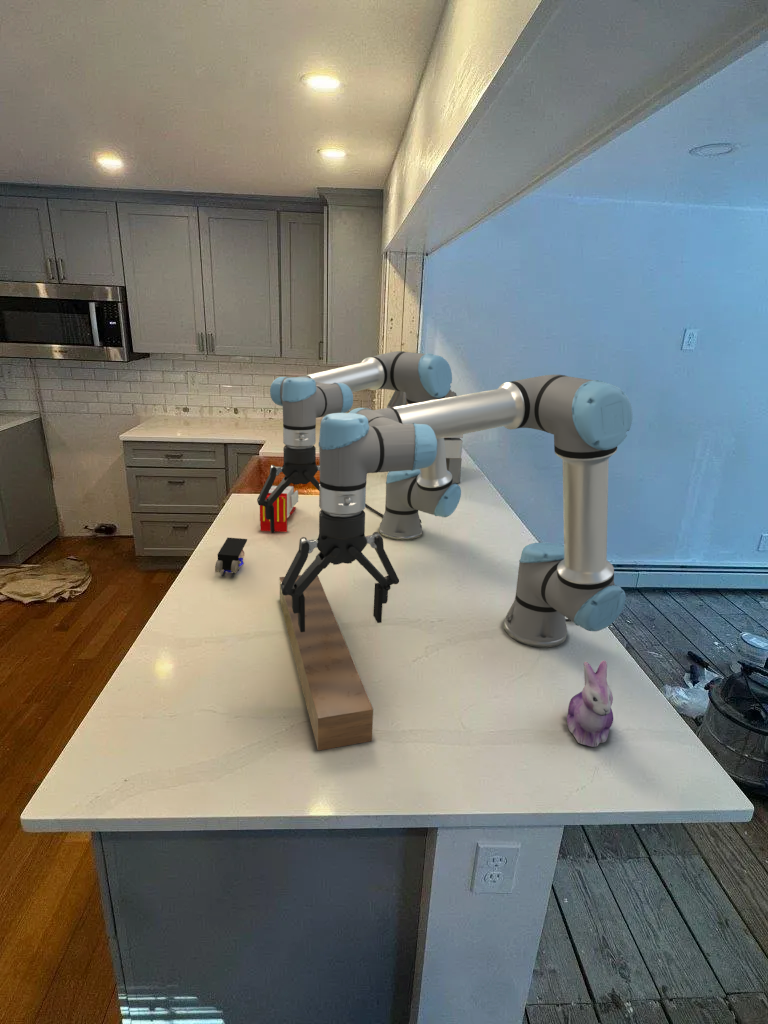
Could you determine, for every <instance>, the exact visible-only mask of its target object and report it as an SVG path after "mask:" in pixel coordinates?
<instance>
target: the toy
mask: <svg viewBox="0 0 768 1024" xmlns="http://www.w3.org/2000/svg"><path fill="white" fill-rule="evenodd" d="M277 486H278V485H272V487H271V489H270V491H269V493H268V495H267V497H266V499H267V498H268V497H269V496H270V494H271V493H272V492H273V491H274V490H275V489H276V487H277ZM294 486H295V485H294ZM294 486H293V485H289V486H288V487H287V488H286V489H285V490H284V491H283V492H282V493H281V495H280V496H279V497H278V498H277V499H276V501H275V502H274V503H273V506H274V528H275V532H279V533H281V532H283V533H287V532H288V518H289V517H290V516H291V515H293V514H294V512H295V510H296V508H297V507H296V506H295V505H296V504H298V503H299V490H298V489H297V490H295V491H294ZM266 499H265V500H266ZM259 526H260V528H259V529H260V531H259V532H271V530H270V519H269V520H267V519H266V516H265V506H262V505H261V506H260V505H259Z"/></svg>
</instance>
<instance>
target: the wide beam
mask: <svg viewBox="0 0 768 1024" xmlns="http://www.w3.org/2000/svg"><path fill="white" fill-rule="evenodd" d="M301 575H302V574H299V575H298V577H297V579H296V581H297V580H298V579H299V577H300V576H301ZM284 577H285V576H279V578H278V581H279V603H280V607H281V610H282V615H283V619H284V622H285V627H286V630H287V634H288V638H289V639H288V640H289V642H290V646H291V650H292V654H293V658H294V662H295V666H296V669H297V674H298V677H299V682H300V686H301V689H302V693H303V697H304V701H305V705H306V709H307V713H308V717H309V722H310V725H311V729H312V732H313V736H314V741H315V745H316V748H317V751H319V752H320V751H324V750H331V749H335V748H336V749H337V748H340V747H346V746H352V745H357V744H358V745H359V744H363V743H369V742H373V726H374V725H373V724H374V723H373V721H374V708H373V706H372V703H371V701H370V699H369V696H368V694H367V691H366V689H365V686H364V684H363V681H362V678H361V677H360V674H359V672H358V669H357V667H356V664H355V662H354V660H353V657H352V654H351V652H350V649H349V647H348V645H347V643H346V640H345V637H344V635H343V633H342V630H341V628H340V626H339V623H338V621H337V618H336V616H335V614H334V611H333V609H332V606H331V604H330V602H329V599H328V597H327V594H326V592H325V589H324V586H323V584H322V582H321V579H320V577H319V575H318V576H317V577H316V578H315V579H314V580H313V581H312V583H311V584H310V585H309V586H308V587H307V588H306V590H305V591H304V592H303V594H304V597H305V632H300V629H299V625H298V613H295V614H294V612H293V609H292V596H291V595H283V594H282V590H281V586H280V585H281V583H282V581H283V579H284ZM296 581H295V582H296Z"/></svg>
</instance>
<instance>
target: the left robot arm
mask: <svg viewBox="0 0 768 1024" xmlns="http://www.w3.org/2000/svg"><path fill="white" fill-rule="evenodd" d="M452 383H453V373H452V368H451V365H450V364H449V362H448V360H447V359H445V357H443V356H441V355H438V354H433V353H420V352H411V351H410V352H409V351H402V350H401V351H400V350H399V351H390V352H384V353H381V354H377V355H372V356H368V357H365V358H363V360H361V362H357V363H354V364H349V365H345V366H339V367H336V368H332V369H327V370H323V371H318V372H314V373H309V374H306V375H300V376H295V377H291V376H290V377H289V376H279V377H277V378H275V379H274V380H273V381H272V383H271V384H270V388H269V395H270V398H271V401H272V403H274V404H275V405H276V406H280V407H282V429H283V430H282V437H283V438H282V443H283V445H284V446H283V464H282V466H276V465H275V464H271V465H270V466H269V474H268V476H267V478H266V480H265V482H264V484H263V487H262V489H261V491H260V492H259V494H258V497H257V499H256V503H257V504H258V506H259V507H260V506H261V505H262V506H265V516H266V519H267V520H269V519H270V530H271V531H270V534H275V533H276V531H275V528H274V506H273V503H274V502H275V501H276V499H277V498H278V497H279V496H280V495H281V493H282V492H283V491H284V490H285V489H286V488H287V487H288V486H291V484H292V485H294V486H296V485H308V484H309V483H311V485H312V486H314V488H316V490H317V491H319V486H320V481H318V480H317V479H316V478H315V476H316V474H317V473H318V471H319V472H320V464H319V465H317V458H316V457H317V455H316V454H317V453H316V452H317V451H316V450H317V447H316V446H315V445H316V443H317V441H316V440H317V439H316V438H317V437H316V434H317V432H316V429H317V419H318V418H323V417H324V416H326V415H328V414H332V413H349V412H350V411H351V410H352V409H351V408H352V407H353V404H354V394H353V393H356V392H360V391H365V390H369V391H377V390H389V391H394V392H395V391H400V392H405V393H406V400H407V403H408V404H414V403H420V402H425V401H431V400H437V399H443V398H445V396H446V395H447V394H448V392H449V390H451V389H452V388H451V387H452V385H451V384H452ZM280 473H282V474H283V475H284V477H283V478H282V479H281V481H280V483H278V485H276V486H277V487H276V489H275V490H274V491H273V492H272V493H271V494H270V496H269V497H268V498H267V499H266V497H267V495H268V493H269V491H270V489H271V487H272V486H274V482H275V480H276V479H277V477H278V476H279V475H280ZM385 481H386V482H385V504H384V505H385V507H384V508H385V509H384V513H381V512H379V511H378V510H376V509H374V508H373V507H371V506H370V505H369V504H367V503H366V502H365V508H367V509H369V510H370V511H371V512H373V513H375V514H376V515H378V516H380V517H382V519H381V522H379V527H378V533H379V534H380V536H382V537H385V538H387V539H389V540H395V541H410V540H415V539H418V538H420V537H421V536H422V535H423V525H422V520H421V518H420V515H419V512H422V513H426V514H429V515H432V516H435V517H441V518H448V517H450V516H451V515H452V514H453V513H454V512H455V511H456V509H457V507H458V505H459V504H460V500H461V497H462V488H461V486H460V485H459V484H458V483H453V480H452V474H451V473H450V472H449V471H448V470H447V466H446V455H445V444H444V438H441V439H437V455H436V458H435V460H434V462H433V464H432V465H431V466H429V467H427V468H422V469H416V470H413V471H411V470H405V471H391V472H387V475H386V480H385ZM265 499H266V500H265Z"/></svg>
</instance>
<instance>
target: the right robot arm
mask: <svg viewBox="0 0 768 1024" xmlns="http://www.w3.org/2000/svg"><path fill="white" fill-rule="evenodd" d="M632 424H633V407H632V403H631V400H630V398H629V397H628V395H627V393H626V392H625V391H623V390H622V389H621V388H620V387H619V386H617V385H614V384H612V383H608V382H605V381H603V380H597V379H594V380H593V379H587V378H583V377H582V378H581V377H575V376H570V375H569V376H568V375H565V374H544V375H538V376H533V377H526V378H522V379H517V380H512V381H506V382H502V384H500V385H499V386H498V388H495V389H489V390H484V391H478V392H473V393H472V392H471V393H467V394H460V395H457V396H454V397H449V398H443V399H437V400H431V401H425V402H420V403H414V404H408V405H402V406H397V407H392V408H387V407H384V408H377V409H371V408H369V407H368V408H367V407H357V408H354V409H350V410H349V411H348V412H346V413H332V414H328V415H326V416H324V417H322V418H321V421H320V427H319V438H318V451H319V453H318V454H319V456H318V457H319V459H318V461H319V465H320V471H319V483H320V486H319V490H318V492H319V493H318V494H319V495H318V496H319V498H318V499H319V500H318V501H319V502H318V507H319V509H320V511H319V512H318V536H317V538H316V539H308V538H307V537H305V536H302V537H301V538H299V544H298V550H297V552H296V553H295V556H294V558H293V560H292V561H291V564H290V565H289V568H288V569H287V571H286V573H285V575H284V576H283V577H284V579H283V581H282V583H281V585H280V584H279V587H280V586H281V590H282V594H283V595H291V596H292V609H293V612H294V614H295V613H298V625H299V629H300V632H305V597H304V594H303V592H304V591H305V590H306V588H307V587H308V586H309V585H310V584H311V583H312V581H313V580H314V579H315V578H316V577H317V576H318V577H319V574H320V573H321V572H322V571H323V570H324V569H326V568H327V567H328V566H329V565H330V564H332V565H333V566H334V565H335V566H336V565H341V564H348V565H349V564H353V562H354V561H355V560H356V561H357V562H358V563H359V564H360V565H361V566H362V567H363V568H364V569H365V570H366V571H367V572H368V573H369V575H370V576H372V578H373V579H374V580H375V581H376V582H374V586H373V587H374V588H373V589H374V590H373V591H374V592H373V610H372V611H373V612H372V614H373V615H372V616H373V617H374V620H375V621H376V623H377V624H382V621H383V620H382V618H383V605H385V604H387V603H388V600H389V591H390V590H391V588H392V587H391V586H392V585H398V584H399V583H400V579H399V577H398V575H397V572H396V571H395V568H394V567H393V564H392V563H391V561H390V558H389V556H388V555H387V552H386V550H385V548H384V538H383V536H382V535H381V534H380V532H379V531H374V532H373V533H372V534H370V535H365V534H366V533H365V531H366V512H365V511H364V510H365V509H366V506H365V503H366V502H367V501H366V496H367V495H366V494H367V477H368V474H378V473H388V472H391V471H405V470H411V471H413V470H416V469H422V468H427V467H429V466H431V465H432V464H433V462H434V460H435V458H436V455H437V439H441V438H446V437H451V436H456V435H461V434H463V435H465V434H466V435H467V434H472V433H477V432H481V431H486V430H490V429H497V428H501V427H502V428H503V427H504V428H505V429H507V430H516V429H533V430H537V431H542V432H544V433H548V434H551V435H553V446H554V447H553V448H554V449H553V450H554V454H555V455H556V456H557V457H559V458H560V459H561V460H562V508H563V510H562V511H563V513H562V514H563V517H562V518H563V544H560V543H556V542H545V541H544V542H534V543H530V544H527V545H525V546H524V547H523V548H522V550H521V554H520V558H519V564H518V573H517V578H516V579H517V580H516V587H515V588H516V589H515V597H514V600H513V602H512V603H511V606H510V608H509V609H508V611H507V613H506V615H505V618H504V620H503V621H504V623H503V629H504V631H505V632H506V634H507V635H508V636H509V637H510V638H511V639H513V640H515V641H517V643H518V642H519V643H520V644H523V645H526V646H529V647H535V648H553V647H558V646H560V645H562V644H563V643H564V642H565V641H566V639H567V635H568V626H567V623H573V624H574V625H575V626H579V627H580V628H582V629H583V630H585V631H588V632H599V631H602V630H604V629H606V628H608V627H609V626H610V625H612V624H613V623H614V622H615V621H616V620H617V618H618V617H619V616H620V615H621V613H622V611H623V609H624V608H625V605H626V599H627V596H626V592H625V590H624V589H623V588H622V587H621V586H620V585H619V584H616V583H615V567H614V565H613V564H612V563H611V562H610V561H608V560H607V559H608V515H609V514H608V512H609V511H608V510H609V509H608V508H609V459H610V458H611V457H613V455H615V454H616V453H617V451H618V446H620V445H621V444H622V443H623V442H624V441H625V440H626V438H627V437H628V434H627V432H629V431H631V428H632ZM367 545H369V546H370V547H371V548H372V549H374V550H375V553H376V555H377V556H378V558H379V560H380V563H381V564H382V567H383V568H384V570H385V572H386V574H387V575H386V576H384V575H383V574H382V572H380V571H379V569H378V568H377V567H376V566H375V565H374V564H373V563H372V562H371V561H370V560H369V559H368V558H367V556H366V555H365V554H364V553H363V550H364V549H365V548H366V546H367ZM314 549H317V550H318V551H319V552H318V553H317V555H316V556H315V559H314V560H313V561H312V562H311V563H310V564H309V566H308V567H307V568H306V569H305V570H304V572H303V573H302V574H300V573H301V571H302V570H303V567H304V566H305V564H306V562H307V560H308V557H309V554H312V552H313V551H314ZM298 575H301V576H300V577H299V579H298V580H297V581H296V579H297V577H298ZM295 581H296V582H295Z"/></svg>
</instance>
